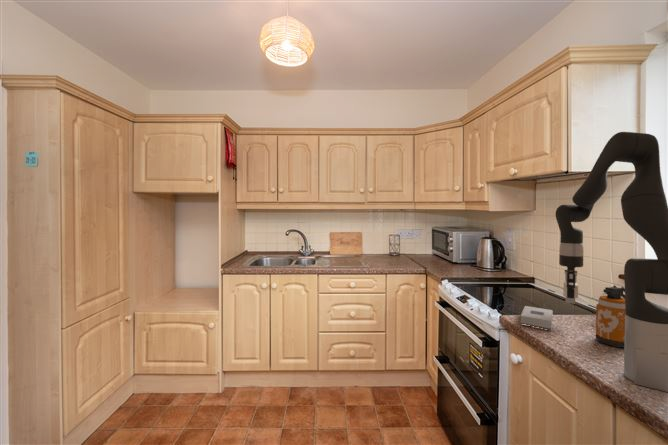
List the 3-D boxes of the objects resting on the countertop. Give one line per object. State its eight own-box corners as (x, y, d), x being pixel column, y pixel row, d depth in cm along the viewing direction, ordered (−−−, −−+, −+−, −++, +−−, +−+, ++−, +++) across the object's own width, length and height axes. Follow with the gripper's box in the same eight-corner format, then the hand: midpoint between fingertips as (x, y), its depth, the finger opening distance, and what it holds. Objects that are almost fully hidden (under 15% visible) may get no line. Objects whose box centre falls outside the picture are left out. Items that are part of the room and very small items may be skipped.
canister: (589, 340, 106) (590, 284, 106) (608, 335, 110) (609, 282, 110) (621, 350, 98) (622, 290, 97) (640, 345, 102) (641, 287, 101)
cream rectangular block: (577, 304, 116) (578, 285, 116) (563, 302, 118) (563, 284, 118) (577, 302, 119) (577, 283, 119) (563, 300, 122) (563, 282, 122)
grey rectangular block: (550, 331, 114) (551, 320, 114) (520, 325, 121) (520, 315, 120) (552, 319, 127) (552, 310, 127) (524, 314, 133) (525, 305, 133)
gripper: (584, 257, 111) (583, 302, 111) (582, 253, 122) (581, 294, 122) (559, 255, 115) (558, 299, 116) (559, 252, 126) (558, 291, 127)
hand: (570, 296), depth 119 cm, fingers closed on cream rectangular block, 4 cm apart
